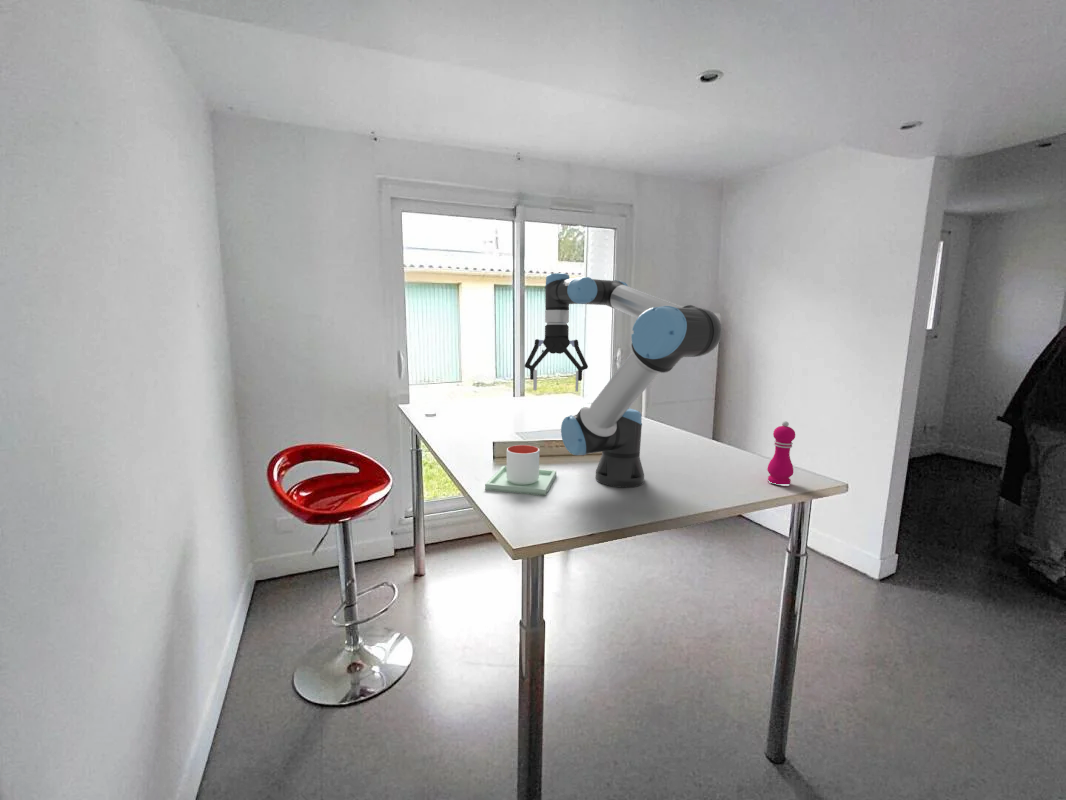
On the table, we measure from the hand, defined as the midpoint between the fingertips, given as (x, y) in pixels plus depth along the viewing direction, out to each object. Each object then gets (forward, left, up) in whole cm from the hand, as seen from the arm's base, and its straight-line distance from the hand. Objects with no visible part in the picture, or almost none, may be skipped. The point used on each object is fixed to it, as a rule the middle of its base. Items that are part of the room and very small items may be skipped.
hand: (555, 390), depth 151 cm
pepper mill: (-71, -7, -27) cm, 76 cm away
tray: (+7, +14, -27) cm, 31 cm away
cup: (+7, +14, -27) cm, 31 cm away
